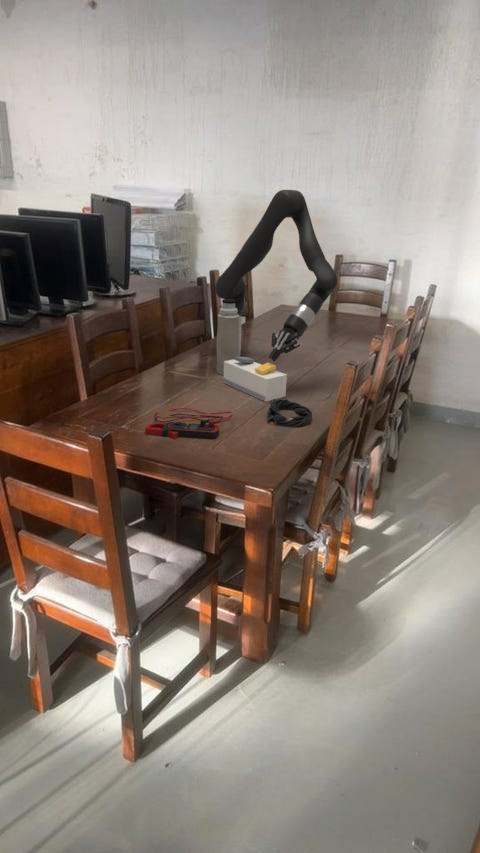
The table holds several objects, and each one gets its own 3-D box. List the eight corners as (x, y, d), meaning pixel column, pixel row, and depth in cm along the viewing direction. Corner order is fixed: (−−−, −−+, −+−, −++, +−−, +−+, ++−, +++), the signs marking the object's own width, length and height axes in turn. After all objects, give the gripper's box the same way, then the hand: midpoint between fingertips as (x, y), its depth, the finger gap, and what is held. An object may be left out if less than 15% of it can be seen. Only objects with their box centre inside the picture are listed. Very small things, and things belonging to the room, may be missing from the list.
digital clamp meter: (227, 430, 167) (141, 423, 169) (227, 444, 169) (141, 437, 171) (236, 400, 189) (159, 395, 191) (236, 413, 190) (160, 408, 192)
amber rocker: (255, 373, 203) (254, 368, 202) (268, 366, 206) (268, 362, 205) (263, 376, 200) (262, 371, 199) (276, 369, 203) (275, 365, 202)
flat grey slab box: (233, 360, 211) (234, 356, 211) (246, 361, 215) (247, 357, 214) (240, 363, 208) (241, 359, 208) (253, 364, 212) (254, 359, 212)
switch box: (222, 382, 216) (222, 361, 213) (242, 377, 222) (243, 357, 219) (264, 401, 199) (266, 379, 196) (285, 396, 205) (286, 374, 202)
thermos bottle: (222, 368, 232) (223, 296, 221) (240, 371, 229) (243, 299, 218) (213, 373, 226) (214, 300, 214) (232, 376, 223) (233, 302, 211)
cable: (271, 405, 197) (272, 393, 195) (313, 409, 195) (314, 397, 193) (264, 425, 182) (265, 412, 180) (309, 430, 180) (311, 416, 178)
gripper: (281, 310, 207) (253, 348, 205) (308, 317, 198) (278, 358, 196) (291, 323, 212) (264, 361, 210) (317, 330, 203) (289, 370, 201)
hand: (271, 359), depth 203 cm, fingers closed
